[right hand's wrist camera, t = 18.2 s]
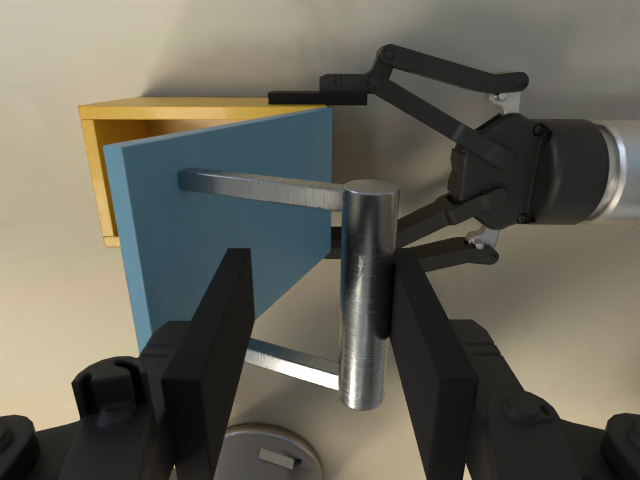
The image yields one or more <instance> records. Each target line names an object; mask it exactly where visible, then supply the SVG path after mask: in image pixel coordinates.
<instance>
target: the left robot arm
mask: <svg viewBox="0 0 640 480" xmlns="http://www.w3.org/2000/svg"><path fill="white" fill-rule="evenodd" d="M393 68H395V69H399V70H402V71H406V72H409V73H412V74H416V75H419V76H423V77H426V78H430V79H433V80H436V81H440V82H443V83H447V84H450V85H454V86H457V87H460V88H464V89H467V90H471V91H477V92H483V93H485V99H486V101H487V102H488V103H490V104H495V105H496V106H498V108H499V110H500V113H499V114H497V115H496V116H494V117H493V118H491V119H490V120H489V121H487V122H486V123H484V124H483V125H481V126H480V127H478V128H477V129H475V130H473V129H471V128H469V127H468V126H466V125H464V124H462V123H460V122H459V121H457V120H455V119H454V118H452V117H450V116H449V115H447V114H445V113H444V112H442V111H440V110H439V109H437V108H435V107H434V106H432V105H430V104H429V103H427V102H425V101H424V100H422V99H420V98H419V97H417V96H415V95H414V94H412V93H410V92H409V91H407V90H405V89H404V88H402V87H400V86H399V85H397V84H395V83H394V82H392V81H390V80H389V77H390V75H391V72H392V70H393ZM528 83H529V77H528V76H527V74H525V73H524V72H499V73H487V72H484V71H480V70H477V69H474V68H470V67H467V66H464V65H460V64H457V63H453V62H450V61H447V60H443V59H440V58H437V57H433V56H430V55H427V54H423V53H420V52H416V51H413V50H410V49H406V48H403V47H400V46H396V45H393V44H388V45H385V46H383V47H381V48H380V49H378V51H377V53H376V57H375V60H374V63H373V65H372V67H371V69H370V70H369V71H368V72H367V73H364V74H326V75H323V76H321V77H320V91H271V92H269V93H268V105H367V94H375V95H377V96H378V97H380V98H382V99H384V100H385V101H387V102H389V103H390V104H392V105H394V106H395V107H397V108H399V109H400V110H402V111H404V112H406V113H407V114H409V115H411V116H412V117H414V118H416V119H417V120H419V121H421V122H422V123H424V124H426V125H428V126H429V127H431V128H433V129H434V130H436V131H438V132H439V133H441V134H443V135H444V136H446V137H448V138H449V139H451V140H453V141H455V142H456V143H457V144H456V146H455V149H452V153H451V163H452V172H451V174H450V177H449V180H448V188H447V190H448V191H449V192H448V193H446V194H444V195H442V196H440V197H438V198H437V199H436V200H435V202H433V203H431V204H429V205H427V206H425V207H423V208H421V209H419V210H417V211H415V212H413V213H411V214H409V215H407V216H405V217H403V218H400V219H398V220H397V233H396V247H395V248H401V247H404V246H406V245H408V244H410V243H412V242H414V241H416V240H418V239H420V238H422V237H425V236H427V235H429V234H431V233H433V232H435V231H437V230H439V229H441V228H443V227H446V226H448V225H456V224H459V223H461V222H463V221H465V220H467V219H469V218H471V217H474V218H475V219H476V220H478V221H479V222H480V223H482V224H483V225H482V227H481V228H480V229H479V230H477V231H473V232H469V233H467V236H466V237H455V238H450V239H445V240H441V241H437V242H433V243H428V244H424V245H420V246H415V247H411V248H412V249H413V251H414V253H415V255H416V257H417V259H418V261H419V263H420V265H421V267H422V268H423V270H424V272H428V271H433V270H437V269H442V268H446V267H451V266H455V265H459V264H464V263H476V264H487V265H492V264H494V263H496V262H497V261H498V259H499V255H498V253H497V252H496V250H495V245H496V241H497V238H498V234H499V230H501V229H504V228H506V227H508V226H510V225H514V224H541V225H574V224H578V223H582V224H586V225H640V120H594V121H591V122H590V121H588V120H583V119H528V118H526V117H524V116H523V115H521V114H519V109H520V96H521V91H523V90H524V89H525V88H526V87H527V85H528ZM341 244H342V227H331V251H330V252H329V253H328V254H327V255H326V256H325V257H324V258H325V259H341ZM169 480H177V475H176V469H175V468H174V467H173V470H172V472H171V475H170V478H169ZM213 480H322V468H321V463H320V460H319V458H318V456H317V454H316V453H315V451H314V450H313V449H312V448H311V446H310V445H309V444H308V443H307V442H305V441H304V440H303V439H302V438H300V437H299V436H297V435H295V434H294V433H292V432H289V431H287V430H285V429H282V428H279V427H275V426H270V425H264V424H245V425H238V426H234V427H230V428H227V429H226V433H225V437H224V441H223V444H222V448H221V452H220V456H219V460H218V464H217V468H216V471H215V475H214V479H213Z"/></svg>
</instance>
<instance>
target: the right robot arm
mask: <svg viewBox="0 0 640 480" xmlns="http://www.w3.org/2000/svg"><path fill="white" fill-rule="evenodd" d="M254 321H255V308H254V292H253V277H252V261H251V248H228V249H227V251H226V253H225V255H224V257H223V259H222V261H221V263H220V265H219V267H218V268H217V270H216V272H215V274H214V276H213V278H212V280H211V282H210V284H209V286H208V288H207V290H206V292H205V294H204V296H203V298H202V300H201V302H200V304H199V305H198V307H197V309H196V311H195V313H194V315H193V317H192V319H191V321H167V322H166V323H165V324H163V325H162V326H161V327H159V328H158V329H157V330H155V331H154V332H153V334H152V336H151V337H150V339H149V340H148V342H147V343H146V346H145V347H144V348H143V350H142V351H141V353H140V356H139V357H138V358H134V357H130V356H118V357H112V358H108V359H104V360H101V361H99V362H97V363H94V364H92V365H90V366H88V367H87V368H85V369H84V370H83V371H81V372H80V373H79V374H78V375H77V376H76V377H75V379H74V380H73V382H72V383H71V384H72V388H73V392H74V395H75V399H76V403H77V407H78V411H79V414H80V420H79V421H77V422H74V423H70V424H67V425H63V426H58V427H54V428H50V429H46V430H41V431H37V432H36V431H35V428H34V425H33V422H32V421H31V420H29V419H28V418H27V417H25V416H19V415H9V416H1V417H0V480H169V478H170V475H171V472H172V470H173V467H174V464H175V469H176V475H177V480H213V479H214V475H215V471H216V468H217V464H218V460H219V456H220V452H221V448H222V444H223V441H224V437H225V433H226V429H227V425H228V421H229V417H230V414H231V410H232V406H233V402H234V398H235V394H236V390H237V387H238V383H239V379H240V375H241V371H242V367H243V363H244V360H245V356H246V352H247V348H248V344H249V340H250V337H251V333H252V329H253V325H254ZM389 337H390V340H391V344H392V348H393V352H394V356H395V360H396V363H397V367H398V371H399V375H400V379H401V383H402V387H403V390H404V394H405V398H406V402H407V406H408V410H409V414H410V417H411V421H412V425H413V429H414V433H415V437H416V441H417V444H418V448H419V452H420V456H421V460H422V464H423V468H424V471H425V475H426V479H427V480H463V475H464V469H465V463H466V465H467V468H468V470H469V473H470V476H471V478H472V480H640V415H637V414H630V413H623V414H617V415H614V416H613V417H611V418H610V419H609V420H608V422H607V425H606V428H605V430H602V429H598V428H594V427H589V426H585V425H581V424H576V423H572V422H569V421H566V420H562V419H560V417H559V415H558V414H557V412H556V411H555V409H554V408H553V407H552V406H551V405H550V404H549V403H547V402H546V401H545V400H544V399H542V398H540V397H538V396H536V395H534V394H532V393H530V392H527V391H525V390H524V389H523V387H522V386H521V384H520V383H519V381H518V379H517V378H516V376H515V375H514V373H513V372H512V370H511V368H510V367H509V365H508V364H507V362H506V361H505V359H504V357H503V356H501V353H500V351H499V350H498V348H497V346H496V345H494V342H493V340H492V339H491V337H490V335H489V334H488V332H487V331H486V330H485V329H484V328H483V327H481V326H480V325H479V324H477V323H476V322H474V321H473V320H449V319H448V317H447V315H446V313H445V311H444V309H443V307H442V305H441V304H440V302H439V300H438V298H437V296H436V294H435V292H434V290H433V288H432V286H431V284H430V282H429V280H428V278H427V276H426V274H425V272H424V270H423V268H422V267H421V265H420V263H419V261H418V259H417V257H416V255H415V253H414V251H413V249H412V248H395V260H394V274H393V288H392V301H391V315H390V328H389Z"/></svg>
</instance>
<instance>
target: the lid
mask: <svg viewBox="0 0 640 480" xmlns="http://www.w3.org/2000/svg"><path fill="white" fill-rule="evenodd" d="M332 120H333V108H327V107H320V108H315V109H309V110H303V111H297V112H292V113H286V114H280V115H274V116H269V117H263V118H257V119H251V120H246V121H240V122H234V123H229V124H223V125H217V126H211V127H206V128H200V129H194V130H188V131H183V132H177V133H171V134H166V135H160V136H154V137H148V138H143V139H137V140H131V141H125V142H120V143H114V144H108V145H104V146H103V151H104V157H105V162H106V168H107V173H108V179H109V185H110V190H111V196H112V202H113V207H114V213H115V218H116V224H117V230H118V235H119V241H120V246H121V252H122V258H123V263H124V269H125V275H126V280H127V286H128V291H129V297H130V303H131V308H132V314H133V320H134V325H135V331H136V336H137V342H138V348H139V353H141V351H142V350H143V348H144V347H145V346H146V343H147V342H148V340H149V339H150V337H151V336H152V334H153V332H154V331H155V330H157V329H158V328H159V327H161V326H162V325H163V324H165V323H166V322H167V321H191V319H192V317H193V315H194V313H195V311H196V309H197V307H198V305H199V304H200V302H201V300H202V298H203V296H204V294H205V292H206V290H207V288H208V286H209V284H210V282H211V280H212V278H213V276H214V274H215V272H216V270H217V268H218V267H219V265H220V263H221V261H222V259H223V257H224V255H225V253H226V251H227V249H228V248H251V261H252V277H253V292H254V308H255V320H256V319H257V318H258V317H259V316H260V315H261V314H263V313H264V312H265V311H266V310H267V309H268V308H269V307H270V306H271V305H272V304H273V303H275V302H276V301H277V300H278V299H279V298H280V297H281V296H282V295H283V294H284V293H286V292H287V291H288V290H289V289H290V288H291V287H292V286H293V285H294V284H295V283H296V282H298V281H299V280H300V279H301V278H302V277H303V276H304V275H305V274H306V273H307V272H309V271H310V270H311V269H312V268H313V267H314V266H315V265H316V264H317V263H318V262H319V261H321V260H322V259H323V258H324V257H325V256H326V255H327V254H328V253H329V252H330V251H331V211H337V212H342V244H341V286H340V327H339V363H338V362H334V361H331V360H327V359H324V358H320V357H317V356H313V355H309V354H306V353H302V352H299V351H295V350H292V349H288V348H284V347H281V346H277V345H274V344H270V343H267V342H263V341H260V340H256V339H252V338H250V340H249V344H248V348H247V352H246V356H245V360H244V362H246V363H250V364H253V365H256V366H259V367H263V368H266V369H269V370H272V371H276V372H279V373H282V374H285V375H289V376H292V377H295V378H298V379H302V380H305V381H308V382H311V383H315V384H318V385H321V386H325V387H328V388H331V389H334V390H338V395H339V398H340V400H341V401H342V402H343V403H344V404H345V405H346V406H348V407H350V408H352V409H355V410H361V411H366V410H371V409H374V408H376V407H378V406H379V405H380V404H381V403H382V402H383V400H384V396H385V383H386V369H387V356H388V342H389V328H390V315H391V301H392V288H393V274H394V260H395V247H396V233H397V220H398V206H399V192H400V189H399V186H398V185H397V184H395V183H392V182H389V181H385V180H377V179H360V180H353V181H349V182H347V183H345V184H335V183H332Z"/></svg>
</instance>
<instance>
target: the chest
mask: <svg viewBox="0 0 640 480" xmlns="http://www.w3.org/2000/svg"><path fill="white" fill-rule="evenodd" d="M320 107H327V106H326V105H268V97H135V98H128V99H121V100H114V101H108V102H101V103H94V104H87V105H80V106H78V109H79V114H80V119H81V124H82V129H83V134H84V140H85V145H86V150H87V155H88V160H89V166H90V171H91V176H92V181H93V186H94V192H95V197H96V202H97V207H98V212H99V218H100V223H101V228H102V233H103V236H104V237H103V238H104V244H105V247H121V246H120V241H119V235H118V230H117V224H116V218H115V213H114V207H113V202H112V196H111V190H110V185H109V179H108V173H107V168H106V162H105V157H104V151H103V146H104V145H108V144H114V143H120V142H125V141H131V140H137V139H143V138H148V137H154V136H160V135H166V134H171V133H177V132H183V131H188V130H194V129H200V128H206V127H211V126H217V125H223V124H229V123H234V122H240V121H246V120H251V119H257V118H263V117H269V116H274V115H280V114H286V113H292V112H297V111H303V110H309V109H315V108H320Z"/></svg>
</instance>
